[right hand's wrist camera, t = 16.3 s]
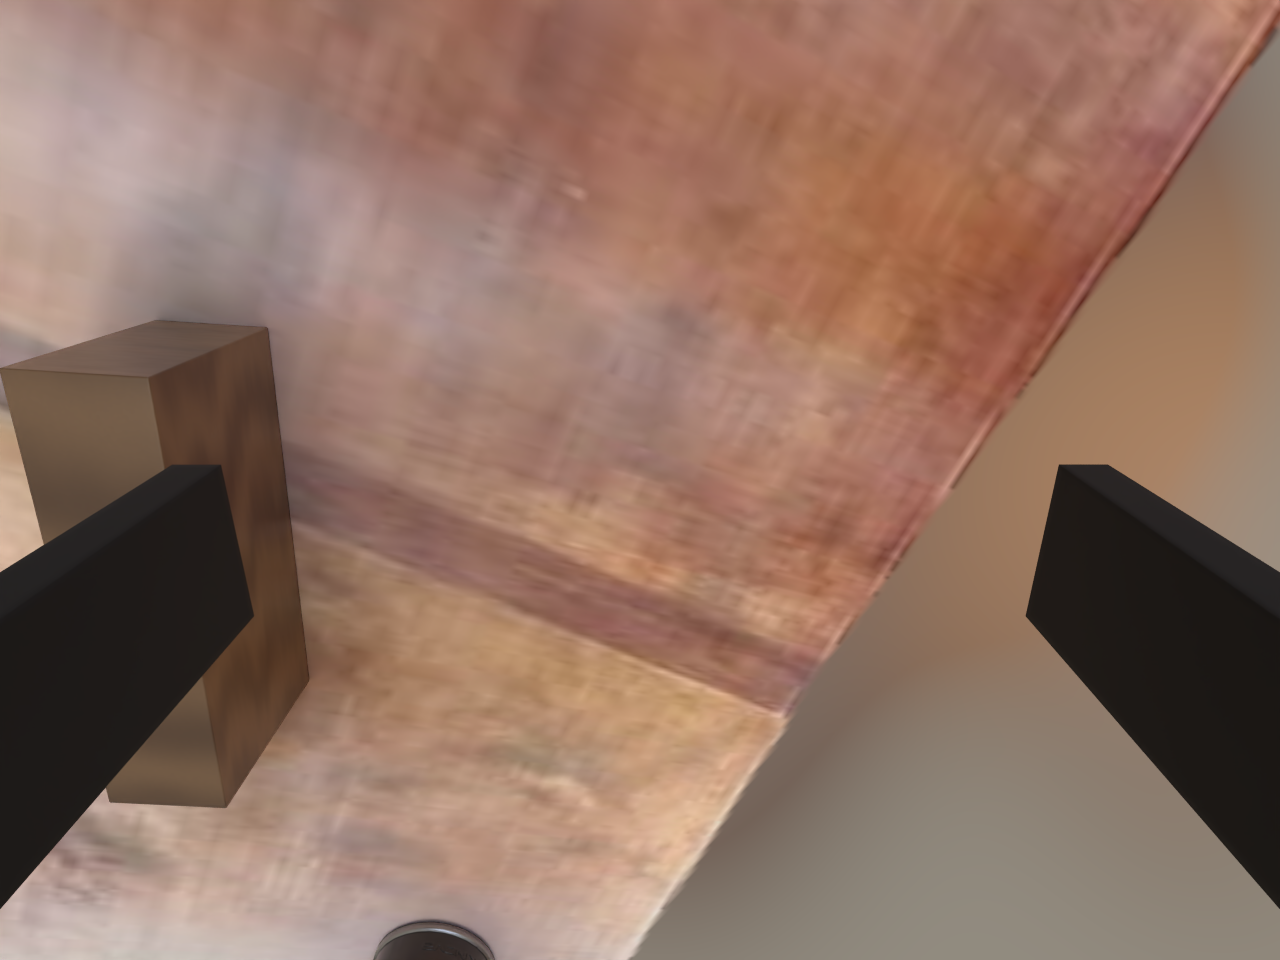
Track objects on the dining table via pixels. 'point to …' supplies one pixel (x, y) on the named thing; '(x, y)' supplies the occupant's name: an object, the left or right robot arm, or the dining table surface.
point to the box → (138, 450)
